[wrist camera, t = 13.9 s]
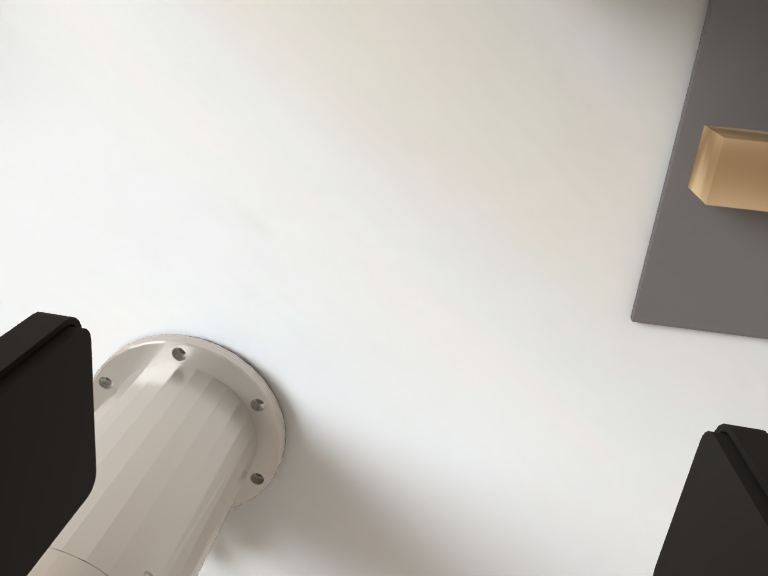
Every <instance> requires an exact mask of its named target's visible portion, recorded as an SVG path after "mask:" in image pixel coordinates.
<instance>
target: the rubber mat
mask: <svg viewBox="0 0 768 576" xmlns="http://www.w3.org/2000/svg"><path fill="white" fill-rule="evenodd" d="M704 125H707V126H717V127H726V128H736V129H746V130H756V131H765V132H768V0H710V4H709V8H708V12H707V16H706V19H705V23H704V27H703V31H702V35H701V39H700V43H699V47H698V51H697V55H696V59H695V63H694V67H693V71H692V75H691V79H690V83H689V87H688V91H687V95H686V99H685V103H684V107H683V111H682V115H681V119H680V123H679V127H678V131H677V135H676V139H675V143H674V147H673V151H672V155H671V159H670V163H669V167H668V171H667V174H666V178H665V182H664V186H663V190H662V194H661V198H660V202H659V206H658V210H657V214H656V218H655V222H654V226H653V230H652V234H651V238H650V242H649V246H648V250H647V254H646V258H645V262H644V266H643V270H642V274H641V278H640V282H639V286H638V290H637V294H636V298H635V302H634V306H633V310H632V314H631V320H632V322H640V323H647V324H655V325H663V326H671V327H679V328H686V329H694V330H702V331H710V332H717V333H725V334H733V335H741V336H748V337H756V338H764V339H768V212H766V211H757V210H748V209H739V208H730V207H722V206H713V205H706V204H705V203H704V202H703V201H702V200H701V199H699V198H698V197H697V196H696V195H695V194H694V193H693V192H692V191H691V190H690V189H689V188H688V185H689V181H690V178H691V174H692V170H693V166H694V163H695V159H696V155H697V151H698V148H699V144H700V140H701V136H702V133H703V129H704Z"/></svg>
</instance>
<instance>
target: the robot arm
mask: <svg viewBox="0 0 768 576" xmlns="http://www.w3.org/2000/svg"><path fill="white" fill-rule="evenodd" d="M284 448H285V425H284V420H283V415H282V412H281V409H280V407H279V404H278V402H277V400H276V397H275V396H274V394H273V393H272V391H271V389H270V388H269V386H268V385H267V383H266V382H265V381H264V380H263V378H262V377H261V376H260V375H259V374H258V373H257V372H256V371H255V370H254V369H253V368H252V367H251V366H250V365H249V364H247V363H246V362H245V361H243V360H242V359H241V358H240V357H238V356H237V355H235V354H234V353H232V352H230V351H228V350H226V349H225V348H223V347H221V346H219V345H217V344H214V343H211V342H208V341H205V340H203V339H200V338H195V337H189V336H184V335H156V336H151V337H145V338H142V339H139V340H137V341H134V342H132V343H129V344H127V345H126V346H124V347H123V348H121V349H120V350H118V351H117V352H116V353H114V354H113V355H112V356H111V357H110V358H109V359H108V360H107V361H106V362H105V363H104V364H103V365H102V366H101V368H100V369H99V370H98V372H97V373H96V374H95V376H94V378H93V373H92V348H91V335H90V333H89V331H88V330H87V329H84V328H82V327H81V324H80V322H79V320H78V319H77V318H74V317H68V316H62V315H56V314H50V313H44V312H37V313H34V314H32V315H31V316H30V317H28V318H27V319H25V320H24V321H22V322H21V323H20V324H18V325H17V326H15V327H14V328H13V329H11V330H10V331H8V332H7V333H5V334H4V335H3V336H1V337H0V576H198V574H199V572H200V570H201V568H202V566H203V564H204V562H205V560H206V558H207V555H208V553H209V551H210V549H211V547H212V545H213V543H214V541H215V539H216V537H217V535H218V533H219V531H220V529H221V527H222V525H223V523H224V521H225V519H226V517H227V514H228V512H229V510H230V508H232V507H235V506H238V505H241V504H243V503H245V502H247V501H249V500H250V499H252V498H254V497H255V496H256V495H258V494H259V493H260V492H261V491H262V490H263V489H265V488H266V486H267V485H268V484H269V482H270V481H271V479H272V478H273V477H274V475H275V473H276V471H277V469H278V466H279V464H280V462H281V459H282V455H283V452H284ZM653 576H768V433H767V432H766V431H764V430H759V429H753V428H747V427H741V426H735V425H729V424H721V425H719V426H718V428H717V429H716V430H715V432H711V431H707V432H705V433H704V435H703V436H702V438H701V440H700V443H699V446H698V449H697V451H696V454H695V457H694V460H693V463H692V465H691V468H690V471H689V474H688V477H687V479H686V482H685V485H684V488H683V491H682V493H681V496H680V499H679V502H678V505H677V508H676V510H675V513H674V516H673V519H672V522H671V524H670V527H669V530H668V533H667V536H666V538H665V541H664V544H663V547H662V550H661V552H660V555H659V558H658V561H657V564H656V566H655V570H654V574H653Z"/></svg>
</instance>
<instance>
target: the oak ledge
mask: <svg viewBox="0 0 768 576" xmlns="http://www.w3.org/2000/svg"><path fill="white" fill-rule="evenodd" d="M688 188H689V189H690V190H691V191H692V192H693V193H694V194H695V195H696V196H697V197H698V198H699V199H701V200H702V201H703V202H704V203H705V204H706V205H713V206H722V207H730V208H739V209H748V210H757V211H766V212H768V132H765V131H756V130H746V129H736V128H726V127H717V126H707V125H704V129H703V133H702V136H701V140H700V144H699V148H698V151H697V155H696V159H695V163H694V166H693V170H692V174H691V178H690V181H689V185H688Z"/></svg>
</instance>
